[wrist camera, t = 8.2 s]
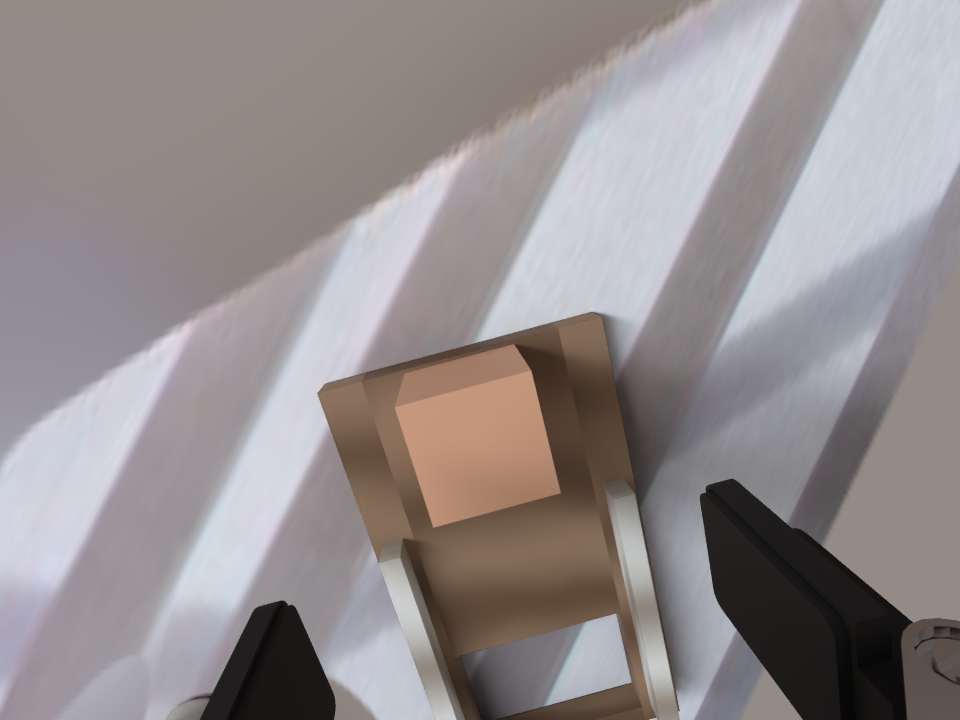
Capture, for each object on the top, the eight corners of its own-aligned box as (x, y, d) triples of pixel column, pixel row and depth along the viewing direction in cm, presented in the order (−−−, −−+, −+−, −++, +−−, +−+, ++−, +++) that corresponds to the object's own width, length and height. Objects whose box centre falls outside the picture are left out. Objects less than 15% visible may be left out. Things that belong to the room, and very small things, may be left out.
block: (538, 444, 23) (561, 493, 19) (435, 472, 23) (433, 527, 19) (513, 343, 22) (531, 370, 17) (404, 373, 22) (394, 407, 17)
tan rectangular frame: (667, 687, 29) (692, 737, 26) (454, 745, 29) (455, 802, 26) (592, 311, 23) (613, 322, 20) (325, 383, 23) (308, 404, 20)
